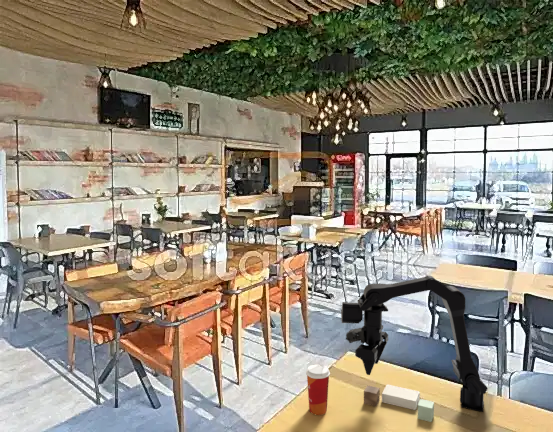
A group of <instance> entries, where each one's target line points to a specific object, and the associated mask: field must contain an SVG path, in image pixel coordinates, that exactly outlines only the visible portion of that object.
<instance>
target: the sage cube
mask: <svg viewBox="0 0 553 432" xmlns="http://www.w3.org/2000/svg"><path fill="white" fill-rule="evenodd" d="M434 417H435V401H433V400H432V401H431V400H427V399H423V398H420V400H419V403H418V405H417V419H418V420H422V421H426V422H429V423H432V422H433V420H434Z"/></svg>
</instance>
